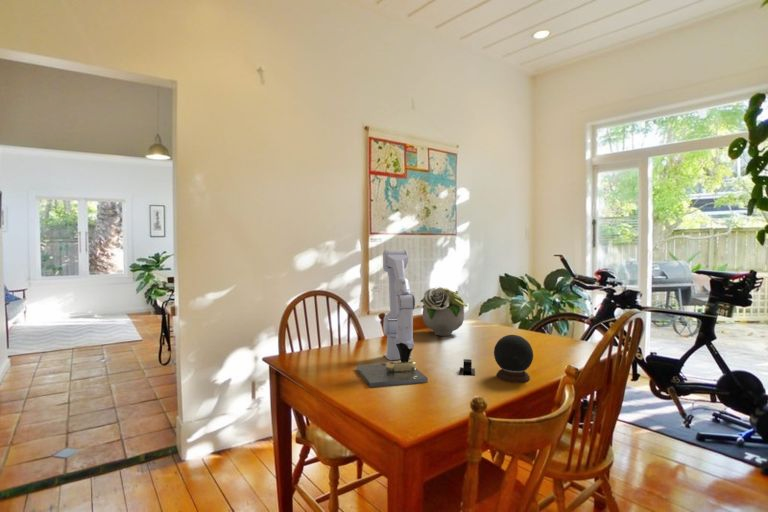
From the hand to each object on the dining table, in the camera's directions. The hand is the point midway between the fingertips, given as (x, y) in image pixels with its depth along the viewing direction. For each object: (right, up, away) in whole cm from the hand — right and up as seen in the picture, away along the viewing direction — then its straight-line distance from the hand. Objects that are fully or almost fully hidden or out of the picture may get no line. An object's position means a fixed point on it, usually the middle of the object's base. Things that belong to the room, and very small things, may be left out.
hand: (404, 363), depth 154 cm
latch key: (-2, -1, -6) cm, 6 cm away
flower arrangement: (+23, -1, +61) cm, 65 cm away
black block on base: (+23, -3, -1) cm, 23 cm away
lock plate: (-5, -3, -7) cm, 9 cm away
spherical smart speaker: (+38, -3, -8) cm, 39 cm away
